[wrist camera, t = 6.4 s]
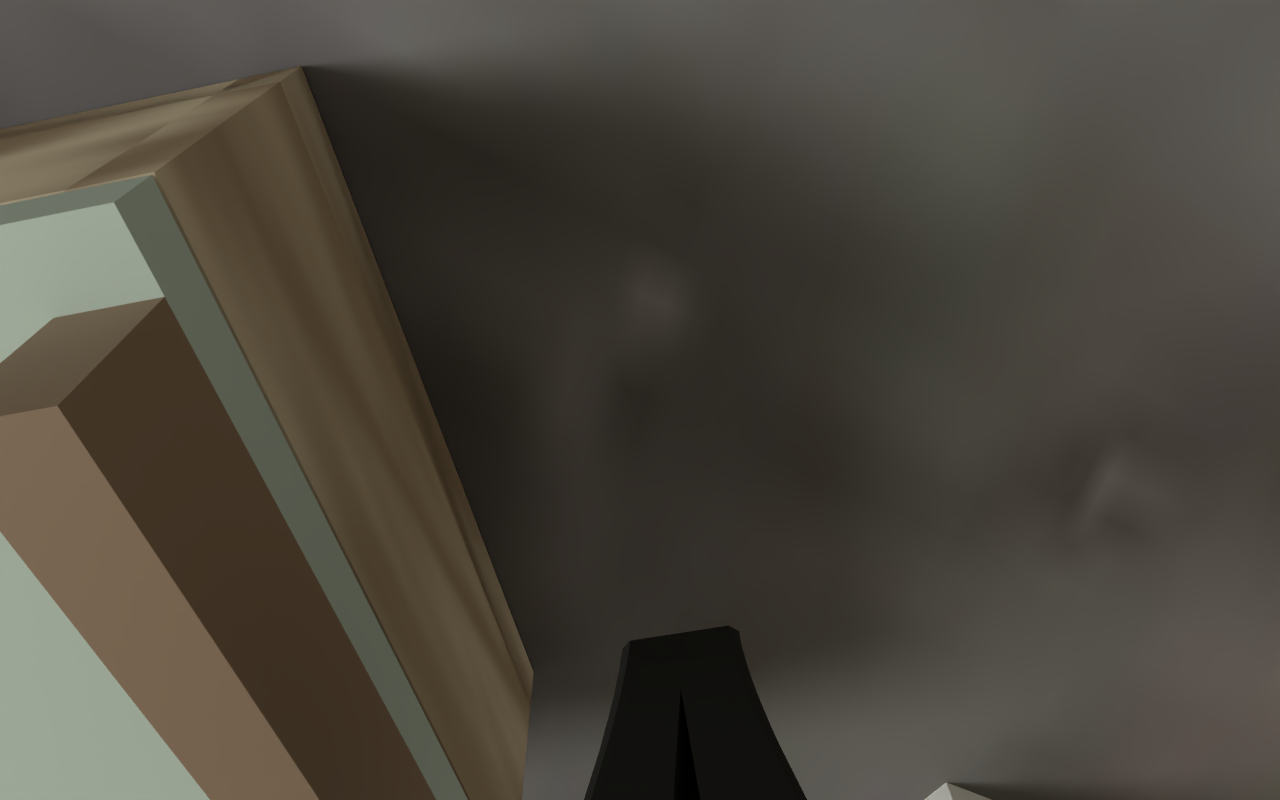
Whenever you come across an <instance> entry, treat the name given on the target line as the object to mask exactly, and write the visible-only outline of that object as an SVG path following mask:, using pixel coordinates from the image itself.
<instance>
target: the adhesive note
mask: <svg viewBox="0 0 1280 800" xmlns="http://www.w3.org/2000/svg"><path fill="white" fill-rule="evenodd" d="M924 800H991V799H989V798H986V797H983V796H981V795H978V794H976V793H973V792H970V791H968V790H965V789H963V788H960V787H957V786H955V785H952V784H950V783H947V782H946V783H945V784H944V785H942V786H941V787H940V788H938V789H937V790H936V791H935V792H933V793H932V794H931V795H930V796H928V797H927V798H926V799H924Z"/></svg>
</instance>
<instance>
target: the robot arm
mask: <svg viewBox="0 0 1280 800" xmlns="http://www.w3.org/2000/svg"><path fill="white" fill-rule="evenodd" d="M584 800H807V799H806V797H805V795H804V793H803V791H802V789H801V787H800V785H799V783H798V781H797V779H796V777H795V775H794V773H793V771H792V769H791V767H790V765H789V763H788V761H787V759H786V757H785V755H784V753H783V751H782V749H781V747H780V745H779V743H778V741H777V739H776V736H775V734H774V732H773V730H772V728H771V725H770V723H769V721H768V718H767V716H766V714H765V711H764V709H763V706H762V704H761V702H760V699H759V697H758V694H757V692H756V689H755V686H754V684H753V681H752V678H751V675H750V672H749V669H748V666H747V663H746V660H745V656H744V653H743V649H742V645H741V640H740V635H739V631H738V630H736V629H734V628H732V627H730V626H723V627H717V628H710V629H704V630H697V631H691V632H684V633H678V634H671V635H665V636H658V637H652V638H645V639H639V640H632V641H630V642H629V643H628V644H627V645H626V646H625V647H624V648H623V651H622V658H621V664H620V670H619V675H618V680H617V684H616V689H615V694H614V698H613V702H612V706H611V710H610V714H609V718H608V722H607V725H606V729H605V733H604V736H603V740H602V744H601V747H600V751H599V754H598V757H597V760H596V764H595V767H594V770H593V773H592V776H591V779H590V782H589V786H588V789H587V792H586V795H585V798H584Z"/></svg>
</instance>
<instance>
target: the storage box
mask: <svg viewBox="0 0 1280 800" xmlns="http://www.w3.org/2000/svg"><path fill="white" fill-rule="evenodd" d="M148 175H152V176H153V178H154V180H155V182H156V184H157V186H158V188H159V190H160V192H161V194H162V196H163V198H164V200H165V202H166V204H167V206H168V208H169V210H170V212H171V214H172V216H173V218H174V220H175V222H176V224H177V226H178V228H179V230H180V232H181V234H182V236H183V238H184V240H185V242H186V243H187V245H188V247H189V249H190V251H191V253H192V255H193V257H194V259H195V261H196V263H197V265H198V267H199V269H200V271H201V273H202V275H203V277H204V279H205V281H206V283H207V285H208V287H209V289H210V291H211V293H212V295H213V297H214V299H215V301H216V303H217V305H218V307H219V309H220V311H221V313H222V315H223V317H224V319H225V321H226V323H227V325H228V327H229V328H230V330H231V332H232V334H233V336H234V338H235V340H236V342H237V344H238V346H239V348H240V350H241V352H242V354H243V356H244V358H245V360H246V362H247V364H248V366H249V368H250V370H251V372H252V374H253V376H254V378H255V380H256V382H257V384H258V386H259V388H260V390H261V392H262V394H263V396H264V398H265V400H266V402H267V404H268V406H269V408H270V410H271V412H272V413H273V415H274V417H275V419H276V421H277V423H278V425H279V427H280V429H281V431H282V433H283V435H284V437H285V439H286V441H287V443H288V445H289V447H290V449H291V451H292V453H293V455H294V457H295V459H296V461H297V463H298V465H299V467H300V469H301V471H302V473H303V475H304V477H305V479H306V481H307V483H308V485H309V487H310V489H311V491H312V493H313V495H314V497H315V499H316V500H317V502H318V504H319V506H320V508H321V510H322V512H323V514H324V516H325V518H326V520H327V522H328V524H329V526H330V528H331V530H332V532H333V534H334V536H335V538H336V540H337V542H338V544H339V546H340V548H341V550H342V552H343V554H344V556H345V558H346V560H347V562H348V564H349V566H350V568H351V570H352V572H353V574H354V576H355V578H356V580H357V582H358V584H359V585H360V587H361V589H362V591H363V593H364V595H365V597H366V599H367V601H368V603H369V605H370V607H371V609H372V611H373V613H374V615H375V617H376V619H377V621H378V623H379V625H380V627H381V629H382V631H383V633H384V635H385V637H386V639H387V641H388V643H389V645H390V647H391V649H392V651H393V653H394V655H395V657H396V659H397V661H398V663H399V665H400V667H401V669H402V670H403V672H404V674H405V676H406V678H407V680H408V682H409V684H410V686H411V688H412V690H413V692H414V694H415V696H416V698H417V700H418V702H419V704H420V706H421V708H422V710H423V712H424V714H425V716H426V718H427V720H428V722H429V724H430V726H431V728H432V730H433V732H434V734H435V736H436V738H437V740H438V742H439V744H440V746H441V748H442V750H443V752H444V754H445V755H446V757H447V759H448V761H449V763H450V765H451V767H452V769H453V771H454V773H455V775H456V777H457V779H458V781H459V783H460V785H461V787H462V789H463V791H464V793H465V795H466V797H467V799H468V800H522V789H523V779H524V768H525V758H526V747H527V737H528V726H529V716H530V705H531V695H532V684H533V674H534V672H533V670H532V667H531V664H530V662H529V659H528V656H527V654H526V651H525V649H524V646H523V643H522V641H521V638H520V636H519V633H518V630H517V628H516V625H515V623H514V620H513V617H512V615H511V612H510V609H509V607H508V604H507V602H506V599H505V596H504V594H503V591H502V589H501V586H500V583H499V581H498V578H497V576H496V573H495V570H494V568H493V565H492V562H491V560H490V557H489V555H488V552H487V549H486V547H485V544H484V542H483V539H482V536H481V534H480V531H479V529H478V526H477V523H476V521H475V518H474V516H473V513H472V510H471V508H470V505H469V502H468V500H467V497H466V495H465V492H464V489H463V487H462V484H461V482H460V479H459V476H458V474H457V471H456V469H455V466H454V463H453V461H452V458H451V455H450V453H449V450H448V448H447V445H446V442H445V440H444V437H443V435H442V432H441V429H440V427H439V424H438V422H437V419H436V416H435V414H434V411H433V408H432V406H431V403H430V401H429V398H428V395H427V393H426V390H425V388H424V385H423V382H422V380H421V377H420V375H419V372H418V369H417V367H416V364H415V361H414V359H413V356H412V354H411V351H410V348H409V346H408V343H407V341H406V338H405V335H404V333H403V330H402V328H401V325H400V322H399V320H398V317H397V314H396V312H395V309H394V307H393V304H392V301H391V299H390V296H389V294H388V291H387V288H386V286H385V283H384V281H383V278H382V275H381V273H380V270H379V267H378V265H377V262H376V260H375V257H374V254H373V252H372V249H371V247H370V244H369V241H368V239H367V236H366V234H365V231H364V228H363V226H362V223H361V220H360V218H359V215H358V213H357V210H356V207H355V205H354V202H353V200H352V197H351V194H350V192H349V189H348V187H347V184H346V181H345V179H344V176H343V174H342V171H341V168H340V166H339V163H338V160H337V158H336V155H335V153H334V150H333V147H332V145H331V142H330V140H329V137H328V134H327V132H326V129H325V127H324V124H323V121H322V119H321V116H320V113H319V111H318V108H317V106H316V103H315V100H314V98H313V95H312V93H311V90H310V87H309V85H308V82H307V80H306V77H305V74H304V72H303V69H302V66H299V67H294V68H290V69H285V70H280V71H275V72H271V73H266V74H261V75H256V76H252V77H247V78H242V79H237V80H232V81H228V82H223V83H218V84H213V85H209V86H204V87H199V88H194V89H190V90H185V91H180V92H175V93H171V94H166V95H161V96H156V97H152V98H147V99H142V100H137V101H133V102H128V103H123V104H118V105H113V106H109V107H104V108H99V109H94V110H90V111H85V112H80V113H75V114H71V115H66V116H61V117H56V118H52V119H47V120H42V121H37V122H33V123H28V124H23V125H18V126H14V127H9V128H4V129H0V205H5V204H10V203H15V202H20V201H25V200H30V199H35V198H40V197H45V196H50V195H55V194H60V193H64V192H69V191H74V190H79V189H84V188H89V187H94V186H99V185H104V184H109V183H114V182H119V181H124V180H129V179H134V178H139V177H143V176H148Z"/></svg>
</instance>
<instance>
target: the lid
mask: <svg viewBox="0 0 1280 800" xmlns="http://www.w3.org/2000/svg"><path fill="white" fill-rule="evenodd" d="M0 800H468V799H467V797H466V795H465V793H464V791H463V789H462V787H461V785H460V783H459V781H458V779H457V777H456V775H455V773H454V771H453V769H452V767H451V765H450V763H449V761H448V759H447V757H446V755H445V754H444V752H443V750H442V748H441V746H440V744H439V742H438V740H437V738H436V736H435V734H434V732H433V730H432V728H431V726H430V724H429V722H428V720H427V718H426V716H425V714H424V712H423V710H422V708H421V706H420V704H419V702H418V700H417V698H416V696H415V694H414V692H413V690H412V688H411V686H410V684H409V682H408V680H407V678H406V676H405V674H404V672H403V670H402V669H401V667H400V665H399V663H398V661H397V659H396V657H395V655H394V653H393V651H392V649H391V647H390V645H389V643H388V641H387V639H386V637H385V635H384V633H383V631H382V629H381V627H380V625H379V623H378V621H377V619H376V617H375V615H374V613H373V611H372V609H371V607H370V605H369V603H368V601H367V599H366V597H365V595H364V593H363V591H362V589H361V587H360V585H359V584H358V582H357V580H356V578H355V576H354V574H353V572H352V570H351V568H350V566H349V564H348V562H347V560H346V558H345V556H344V554H343V552H342V550H341V548H340V546H339V544H338V542H337V540H336V538H335V536H334V534H333V532H332V530H331V528H330V526H329V524H328V522H327V520H326V518H325V516H324V514H323V512H322V510H321V508H320V506H319V504H318V502H317V500H316V499H315V497H314V495H313V493H312V491H311V489H310V487H309V485H308V483H307V481H306V479H305V477H304V475H303V473H302V471H301V469H300V467H299V465H298V463H297V461H296V459H295V457H294V455H293V453H292V451H291V449H290V447H289V445H288V443H287V441H286V439H285V437H284V435H283V433H282V431H281V429H280V427H279V425H278V423H277V421H276V419H275V417H274V415H273V413H272V412H271V410H270V408H269V406H268V404H267V402H266V400H265V398H264V396H263V394H262V392H261V390H260V388H259V386H258V384H257V382H256V380H255V378H254V376H253V374H252V372H251V370H250V368H249V366H248V364H247V362H246V360H245V358H244V356H243V354H242V352H241V350H240V348H239V346H238V344H237V342H236V340H235V338H234V336H233V334H232V332H231V330H230V328H229V327H228V325H227V323H226V321H225V319H224V317H223V315H222V313H221V311H220V309H219V307H218V305H217V303H216V301H215V299H214V297H213V295H212V293H211V291H210V289H209V287H208V285H207V283H206V281H205V279H204V277H203V275H202V273H201V271H200V269H199V267H198V265H197V263H196V261H195V259H194V257H193V255H192V253H191V251H190V249H189V247H188V245H187V243H186V242H185V240H184V238H183V236H182V234H181V232H180V230H179V228H178V226H177V224H176V222H175V220H174V218H173V216H172V214H171V212H170V210H169V208H168V206H167V204H166V202H165V200H164V198H163V196H162V194H161V192H160V190H159V188H158V186H157V184H156V182H155V180H154V178H153V176H152V175H148V176H143V177H139V178H134V179H129V180H124V181H119V182H114V183H109V184H104V185H99V186H94V187H89V188H84V189H79V190H74V191H69V192H64V193H60V194H55V195H50V196H45V197H40V198H35V199H30V200H25V201H20V202H15V203H10V204H5V205H0Z"/></svg>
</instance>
